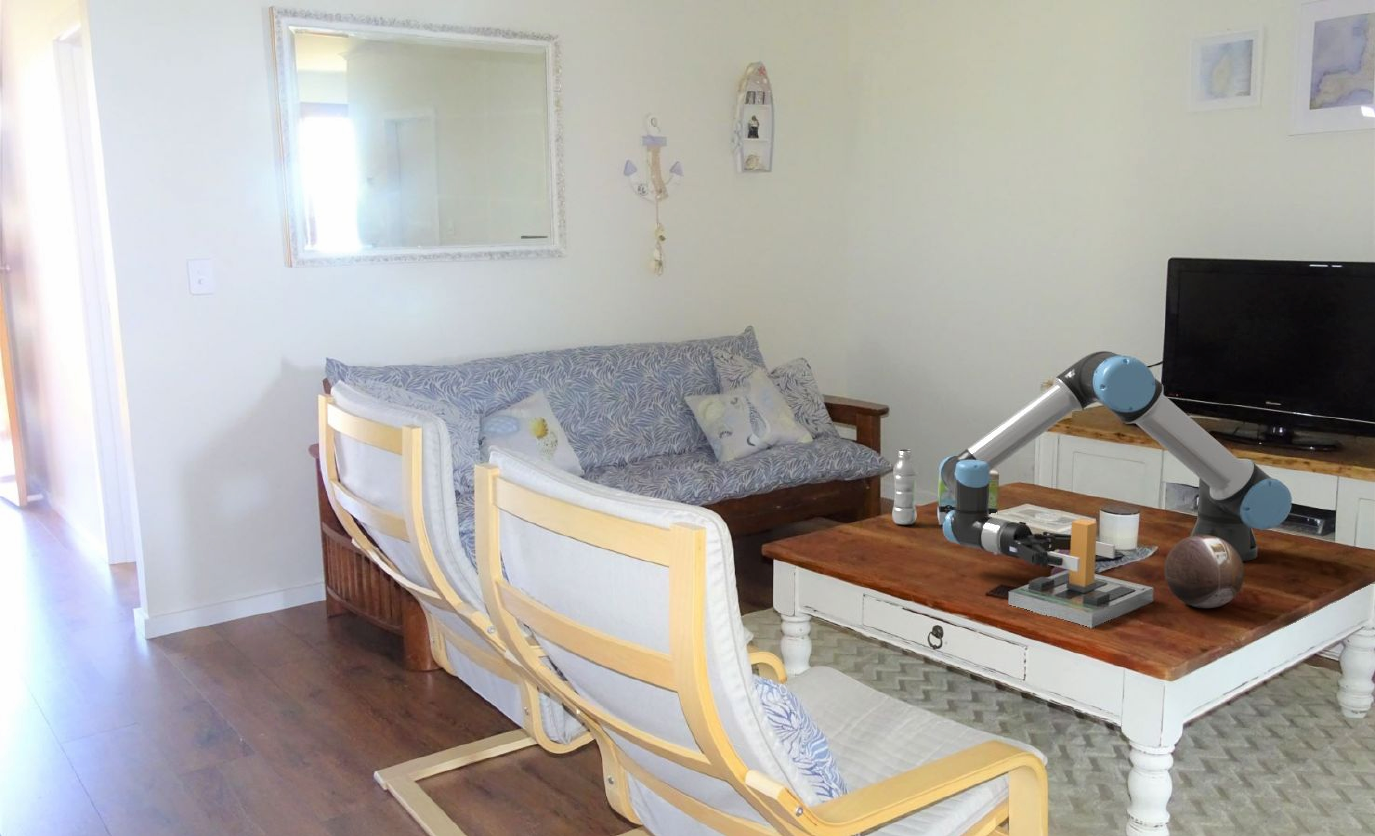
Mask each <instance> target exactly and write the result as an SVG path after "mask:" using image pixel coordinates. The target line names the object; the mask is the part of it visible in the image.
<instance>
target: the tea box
mask: <svg viewBox="0 0 1375 836" xmlns="http://www.w3.org/2000/svg"><path fill="white" fill-rule="evenodd" d="M999 481H1000V474H999V472H998V470H997V467H996V468H994V469H993V470H992V471H990V488H989V514H988V516H989V515H990V514H991V513H996V512H997V513H998V508H999V507H998V506H999V505H998V504H999V483H1000V482H999ZM954 509H955V493H954V492H953V491H952V490H951V489H950V488H948V487H947V486H945V485H944V483H943V481H942V480H941V478H940V475H939V474H938V492H937V518H938V519H937V520H938V524H939V526H943V523H944V522H945V516H946V515H947V514H948V513H949V512H950V511H952V510H954Z"/></svg>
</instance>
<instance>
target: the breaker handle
mask: <svg viewBox="0 0 1375 836" xmlns="http://www.w3.org/2000/svg"><path fill="white" fill-rule="evenodd" d="M1097 525H1098V522H1097V521H1093V520H1089V519H1083V518H1080V519H1076V520H1074V521H1071V532H1070V533H1071V534H1070V535H1071V550H1070V556H1073V557H1078V558H1080V562H1079V571H1073V570H1070V575H1069V582H1068V583H1067V589H1071V590H1075V591H1079V592H1083V593H1085V592H1087V591H1090V590H1092V589H1095V588H1096V585H1097V582H1094V576H1095V574H1096V573H1095V572H1096V555H1095V553H1096V541H1097V531H1098V530H1097V527H1098V526H1097Z"/></svg>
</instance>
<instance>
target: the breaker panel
mask: <svg viewBox="0 0 1375 836" xmlns="http://www.w3.org/2000/svg"><path fill="white" fill-rule="evenodd" d="M1069 575H1070V570H1066V571H1063V572H1061V573H1058V574H1055V575H1050V576H1047V577H1046V576H1040V577H1037V578H1034V579H1032V580H1029V581H1028V584H1025V585H1023V586H1020V587H1017V588H1014V589H1011V590H1009V591H1008V601H1007V603H1008V604H1009V605H1012V606H1011V607H1013V606H1016V607H1015V608H1017V607H1020V608H1024V609H1027V610H1030V611H1029V612H1031V611H1033V612H1032V613H1035V612H1036V613H1035V614H1039V615H1043V616H1045V617H1049V616H1053V617H1057V618H1060V619H1064V620H1067V621H1071V622H1074V623H1078V624H1080V625H1079V626H1082V625H1084V626H1083V627H1085V626H1087V627H1086V628H1089V627H1090V628H1089V629H1093V628H1096V627H1098V626H1100V625H1102V624H1105V623H1107V622H1109V621H1111V619H1112V620H1113V618H1114V619H1116V618H1118V617H1121V616H1123V615H1126V614H1127V613H1130V612H1132V611H1135V610H1137V609H1139V608H1141V607H1144V606H1146V605H1149V604H1150V603H1153V602H1154V589H1155V588H1154V587H1152V586H1147V585H1144V584H1139V583H1135V582H1131V581H1126V580H1124V579H1123V580H1122V579H1118V578H1115V577H1114V578H1113V577H1109V576H1105V575H1101V574H1098V573H1095V576H1094V582H1097V585H1096V588H1095V589H1092V590H1090V591H1087V592H1085V593H1083V592H1079V591H1075V590H1071V589H1067V583H1068V582H1069ZM1009 605H1008V606H1009ZM1020 608H1019V609H1020ZM1024 609H1023V610H1024ZM1027 610H1026V611H1027ZM1046 615H1047V616H1046ZM1053 617H1052V618H1053ZM1060 619H1059V620H1060ZM1064 620H1063V621H1064ZM1108 620H1109V621H1108ZM1067 621H1066V622H1067ZM1106 621H1107V622H1106ZM1071 622H1070V623H1071ZM1104 622H1105V623H1104ZM1074 623H1073V624H1074ZM1101 623H1102V624H1101ZM1078 624H1077V625H1078ZM1099 624H1100V625H1099ZM1097 625H1098V626H1097ZM1095 626H1096V627H1095Z"/></svg>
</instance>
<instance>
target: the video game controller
mask: <svg viewBox="0 0 1375 836" xmlns="http://www.w3.org/2000/svg"><path fill="white" fill-rule="evenodd" d="M1056 553H1060V554H1065V555H1069V556H1070V550H1058V551H1056ZM1049 566H1052V565H1049V563H1047V567H1049ZM1066 570H1068V569H1064V568H1060V567H1056V566H1054V567H1052V569H1051V571H1050V576H1052V575H1055V574H1058V573H1061V572H1063V571H1066Z"/></svg>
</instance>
